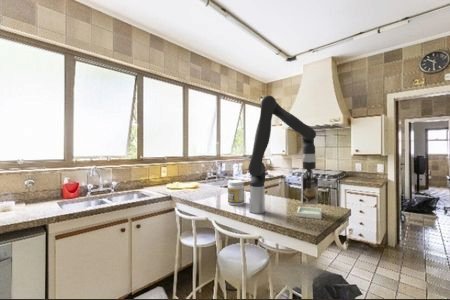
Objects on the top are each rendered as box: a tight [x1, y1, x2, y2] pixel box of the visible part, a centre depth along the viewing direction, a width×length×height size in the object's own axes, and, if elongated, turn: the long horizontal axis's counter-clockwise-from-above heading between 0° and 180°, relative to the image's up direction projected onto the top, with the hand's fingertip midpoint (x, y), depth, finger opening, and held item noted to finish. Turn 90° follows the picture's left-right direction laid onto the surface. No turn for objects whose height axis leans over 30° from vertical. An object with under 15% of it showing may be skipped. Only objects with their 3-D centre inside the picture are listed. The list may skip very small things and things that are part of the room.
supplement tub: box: [227, 179, 245, 206], centre depth 176 cm, size 12×12×17 cm
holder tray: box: [296, 206, 323, 220], centre depth 148 cm, size 14×14×3 cm
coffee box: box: [300, 176, 319, 205], centre depth 147 cm, size 9×6×16 cm
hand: (309, 187), depth 147 cm, fingers closed on coffee box, 7 cm apart
